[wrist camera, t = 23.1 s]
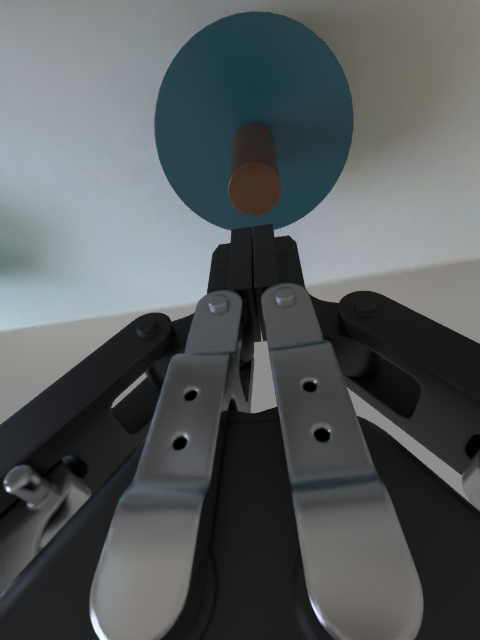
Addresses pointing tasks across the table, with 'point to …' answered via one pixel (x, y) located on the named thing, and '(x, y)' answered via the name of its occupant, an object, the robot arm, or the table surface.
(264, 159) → the lid
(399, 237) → the table surface
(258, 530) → the robot arm
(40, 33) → the table surface
